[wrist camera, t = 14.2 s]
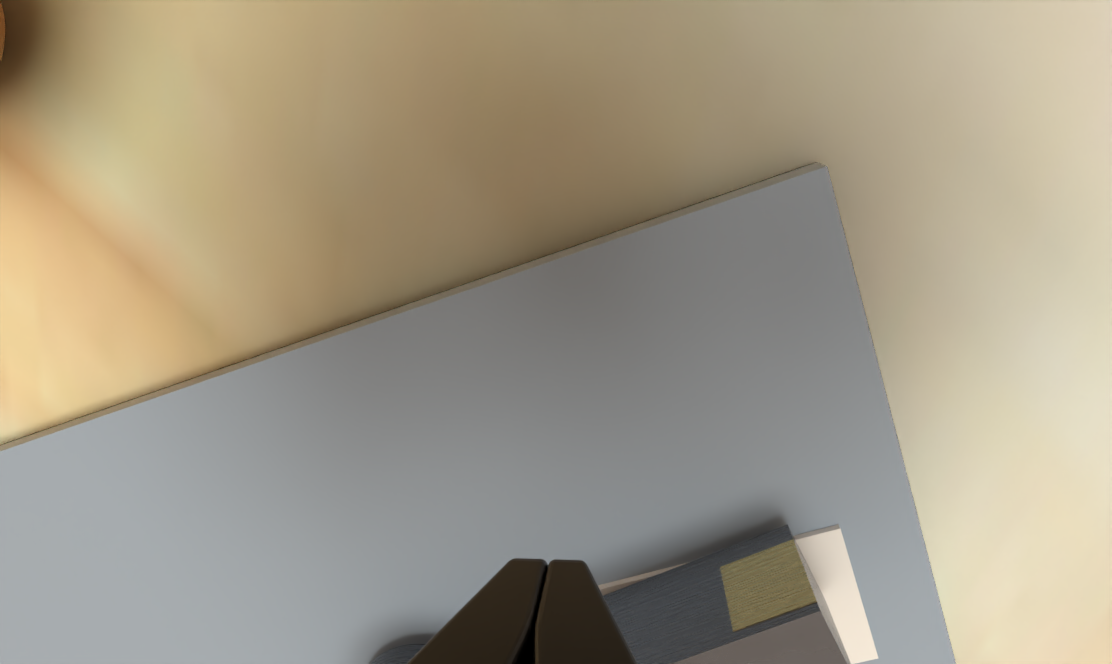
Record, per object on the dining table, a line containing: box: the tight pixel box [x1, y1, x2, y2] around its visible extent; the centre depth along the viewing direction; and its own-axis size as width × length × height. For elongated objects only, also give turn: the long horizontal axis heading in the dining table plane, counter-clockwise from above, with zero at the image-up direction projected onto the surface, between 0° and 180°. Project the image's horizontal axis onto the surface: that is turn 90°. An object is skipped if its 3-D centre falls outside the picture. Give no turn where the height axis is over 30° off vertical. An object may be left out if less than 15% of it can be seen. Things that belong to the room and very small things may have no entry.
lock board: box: [0, 162, 956, 664], centre depth 23 cm, size 20×30×1 cm, turn 111°
